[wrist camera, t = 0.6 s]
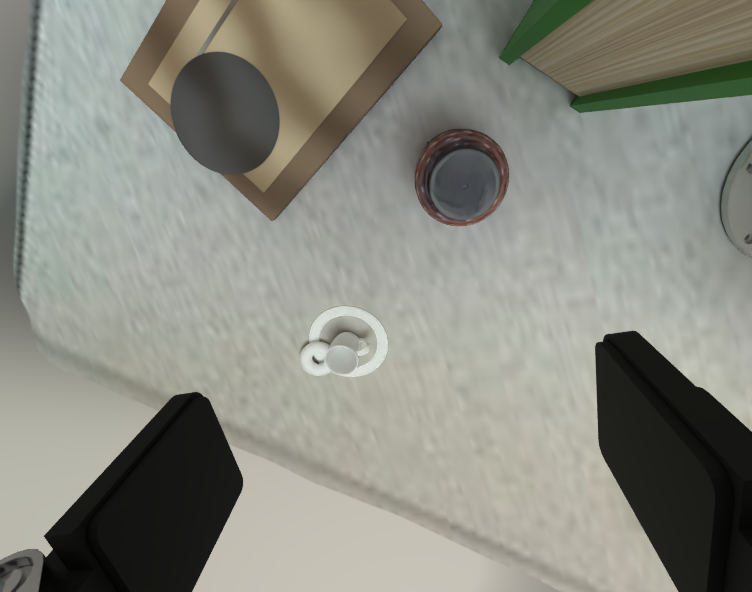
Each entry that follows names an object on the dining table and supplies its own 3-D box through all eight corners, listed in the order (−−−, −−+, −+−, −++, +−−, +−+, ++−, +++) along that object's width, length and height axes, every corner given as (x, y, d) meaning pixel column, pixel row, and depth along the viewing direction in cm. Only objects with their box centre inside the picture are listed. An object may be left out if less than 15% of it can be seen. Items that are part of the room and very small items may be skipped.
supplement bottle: (492, 125, 32) (524, 124, 22) (490, 202, 34) (519, 234, 24) (415, 132, 33) (410, 134, 22) (418, 207, 35) (415, 240, 25)
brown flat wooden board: (275, -167, 27) (268, -181, 26) (441, 27, 30) (442, 23, 29) (125, 86, 34) (114, 84, 33) (272, 222, 37) (267, 226, 36)
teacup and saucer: (305, 371, 43) (294, 395, 39) (299, 302, 40) (286, 320, 36) (388, 375, 42) (384, 400, 38) (388, 305, 39) (384, 323, 36)
